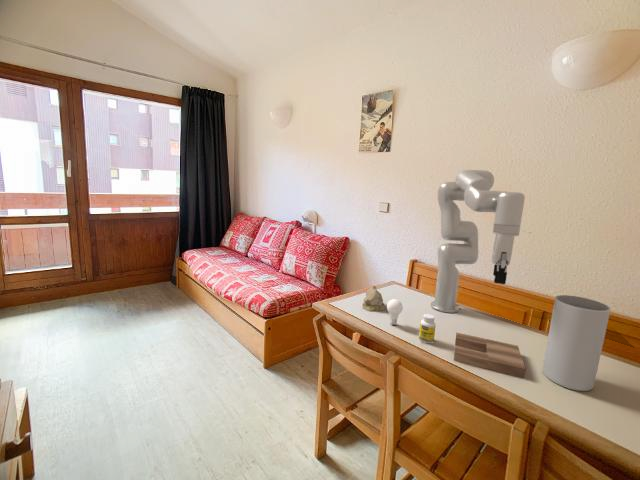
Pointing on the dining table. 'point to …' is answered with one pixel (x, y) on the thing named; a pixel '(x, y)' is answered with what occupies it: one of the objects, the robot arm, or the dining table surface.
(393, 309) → the lightbulb
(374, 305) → the ceramic model
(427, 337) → the supplement bottle
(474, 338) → the notched board
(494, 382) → the dining table surface
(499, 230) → the robot arm
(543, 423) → the dining table surface
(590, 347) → the cylinder vase
